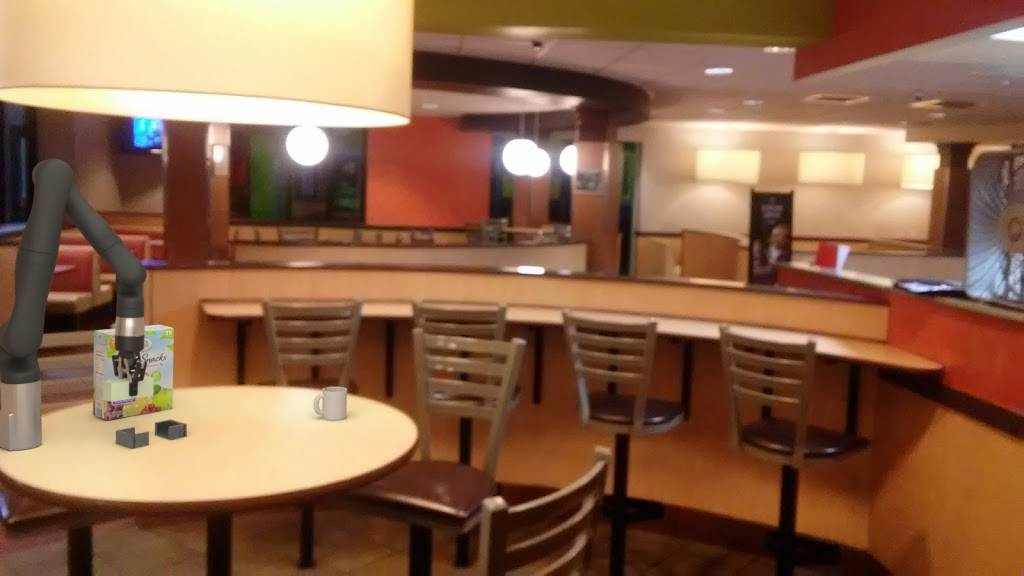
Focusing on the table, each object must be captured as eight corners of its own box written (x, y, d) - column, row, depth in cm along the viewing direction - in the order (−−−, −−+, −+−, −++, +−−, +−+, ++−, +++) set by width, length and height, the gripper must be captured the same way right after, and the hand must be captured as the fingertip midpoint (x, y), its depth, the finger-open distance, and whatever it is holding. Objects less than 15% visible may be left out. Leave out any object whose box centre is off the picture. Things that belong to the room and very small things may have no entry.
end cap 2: (170, 431, 256) (170, 419, 256) (186, 436, 252) (186, 424, 251) (154, 434, 252) (154, 422, 252) (170, 440, 248) (170, 427, 247)
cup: (348, 420, 275) (349, 391, 274) (315, 422, 271) (316, 393, 270) (343, 414, 282) (343, 386, 281) (310, 416, 278) (311, 387, 277)
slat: (111, 401, 245) (111, 383, 245) (103, 399, 247) (103, 381, 247) (153, 395, 255) (153, 377, 255) (145, 393, 258) (145, 375, 257)
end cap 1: (131, 449, 238) (131, 436, 238) (115, 443, 243) (115, 430, 242) (148, 445, 242) (148, 432, 242) (133, 439, 247) (133, 427, 246)
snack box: (107, 422, 263) (106, 334, 260) (91, 416, 268) (90, 330, 265) (175, 409, 280) (174, 326, 277) (159, 404, 286) (158, 323, 283)
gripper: (102, 330, 251) (101, 391, 252) (131, 337, 242) (130, 400, 244) (128, 328, 257) (126, 388, 258) (157, 335, 248) (155, 397, 250)
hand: (128, 394), depth 251 cm, fingers closed on slat, 4 cm apart
